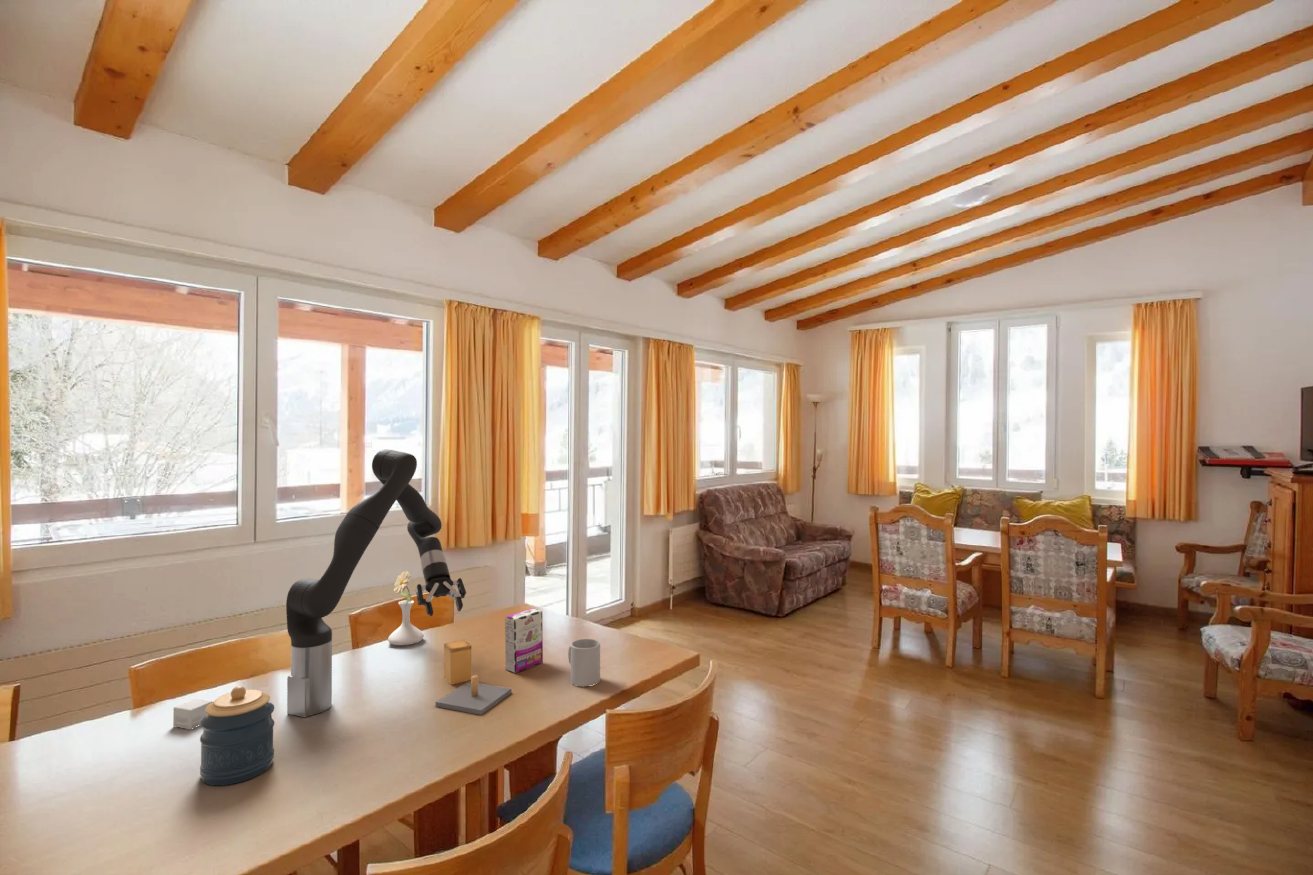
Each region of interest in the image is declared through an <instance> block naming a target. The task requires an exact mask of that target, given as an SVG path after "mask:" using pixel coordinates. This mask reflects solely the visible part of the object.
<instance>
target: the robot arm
mask: <svg viewBox="0 0 1313 875" xmlns="http://www.w3.org/2000/svg"><path fill="white" fill-rule="evenodd" d="M417 461H418V460H417V458H416V456H415V455H413V454H411V453H407V452H404V451H398V450H394V449H381V450H379V451H377V452H376V453H375V455H374V457H373V458H372V462H371V468H372V472H373V475H374V477H375V478H376V479H377V480H378V481H379V482H380V483H381V484H382V486H381V487H380V488H379V489H378V490H377V491H375V492H374V493H373V494H371V495H370V496H367V497H366V498H364V499H363V500H362V501H360V502H358V503H357V504H355V505H354V506H352V507H351V509H350V510H349V511H348V512H347V513H346V515H345V516H344V518H343V519H342V520H341V523H339V526H338V528H337V529H336V531H335V535H334V542H333V556H332V558H331V561H330V563H329V565H328V566H327V568H326V570H325V572H324V573H323V575H322V576H321V578H319V579H317V578H301V579H298V580H297V581H295V582H294V583H293V584H292V585H291V586H290V588H289V590H288V593H287V596H286V603H285V604H286V607H285V608H286V629H287V633H288V637H290V674H289V675H288V676H287V679H286V680H287V682H286V683H287V684H286V686H287V687H286V689H287V690H286V691H287V692H286V694H287V695H286V696H287V697H286V698H287V699H286V700H287V702H286V706H287V708H286V709H287V710H286V713H287V714H288V715H291V716H292V715H293V716H297V717H302V718H307V717H309V716H312V715H317V714H321V713H323V712H325V711H327V710H329V709H330V708H331V707H332V705H333V704H332V699H333V698H332V696H333V689H332V688H333V684H332V683H333V630H332V628H331V627H330V626H329V624H327V623H326V622H325V621H324V620H323V618H325V617H328V616H329V615H331V613H332V612H333V611H334V610H335V609H336V607H337V605H338V604H339V602H340V601H341V599H342V596H343V594H344V593H345V590H346V588H347V586H348V583H349V581H350V579H351V577H352V575H353V573H354V571H355V569H356V567H357V565H358V564H359V562H360V561H361V559H362V557H363V555H364V553H365V551H366V549H367V548H368V546H369V545H370V544H371V543H372V541H373V539H374V537H375V536H376V534H377V532H378V530H379V529H380V527H381V525H382V523H383V522H384V520H385V518H386V517H387V515H388V513H389V512H390V510H391V509H392V507H393V505H394V504H395V502H397V503H398V505H399V506H400V508H401V510H402V512H403V513H404V515H405V518H406V519H407V521H408V523H407V525H406V526H407V528H406V530H407V532H408V534H409V536H410V538H411V539H412V540H413V542H414V543H415V545H416V548H417V550H418V554H419V558H420V564H421V572H422V574H423V579H424V583H425V585H421V584H420V583H418V584H417V585H416V589H415V594H416V601H417V605H418V606H424V607H425V611H426V614H427V615H429V617H433V615H434V610H433V604H432V602H431V601H432V600H433V598H434V597H435V598H439V597H447V596H448V597H449V598H452V599H454V600H455V606H456V608H457V609H456V610H457V612H461V611H462V609H463V607H464V602H463V600H462V599H465V596H466V594H467V590H466V588H465V585H464V582H463V579H462V578H460V577H458V579H457V580H452V578H451V575H450V574H451V573H450V571H449V567H448V562H447V558H446V557H445V554H444V551H443V548H442V544H441V541H440V539H439V538H438V537H435V536H433V535H435V534H438V533H439V532H440V531H441V529H442V521H441V518H440V517H439V515H437V514H436V513H435V512H434V511H433V510H432V509H431V508H430V507H429V506H428V505H427V503H426V501H425V500H424V497H423V496H422V495H421V493H420V492H419V491H418V490H417V489H416V488H414V487H413V486H412V485H411V484H410V482H411V481H412V479H413V477H414V475H415V473H416V470H417V468H418V462H417ZM453 586H454V587H453ZM457 590H458V591H457ZM424 591H426V592H427V593H428V595H427V597H426V598H424V594H423V593H424Z"/></svg>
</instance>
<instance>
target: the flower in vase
mask: <svg viewBox="0 0 1313 875" xmlns="http://www.w3.org/2000/svg"><path fill="white" fill-rule="evenodd" d="M410 580H411V574H410V572H409V571H408V570H406V571H405V570H404V571H403V572H401V573H400V575H399V574H398V576H397V578H396V581H395V583H394V584H393V586H394V588H393V592H394V593H395V595H396V594H398V595H399V594H401V596H402V597H403V598H404V599H405V600H401V601H398V605H399V606H400V609H401V613H402V622H401V624H400V626H399V627H397V628H396V629H394V631H393V632H392V633H390V635H389V636H388V638H387V642H388V643H389V644H391V645H396V646H408V645H412V644H413V645H414V644H416V643H419V642H420V641H422V640H423V639H424V638H425V635H424V633H423V631H422V630H420V629H419V628H418V627H416V626H415V625H414V624H412V623H411V620H410V619H411V616H410V615H411V609H412V606H413V604H414V603H415V601H414V600H413V599H412V593H410V589H409V587H408V585H410ZM405 589H407V592H405ZM407 593H408V594H407Z"/></svg>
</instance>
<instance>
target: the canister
mask: <svg viewBox="0 0 1313 875" xmlns="http://www.w3.org/2000/svg"><path fill="white" fill-rule="evenodd" d="M270 699H271V696H270V695H269V694H268V693H266V692H264V691H261V690H259V689H246V688H245V686H243V685H237V686H235V687H233V688H232V690H231V691H230V692H228V693H225V694H222V695H221V696H217V697H216V698H215V700H213V701H212V703H210V704H209V705H208V706H207V707H206V709H205V712H206V713H207V714H206V715H205V716H204V717H203V718H202V719H201V721H200V725H201V726H200V727H201V728H202V729H203V730H202V734H200V736H199V742H200V766H199V775H200V776H201V781H202V783H204V784H206V785H209V786H215V785H216V786H218V785H220V786H228V784H230V785H234V784H233V783H235V784H238V782H239V783H243V782H245V781H247V780H250V779H253V778H255V777H258V776H259V775H261V774H263V773H264V772H265V771H267V770H268V769H269V768H270V767H271V765H272V764H273V761H274V757H275V748H274V726H275V720H274V719H273V718H272V714H273V712H274V711H275V705H274V704H273V703H272V702H270ZM218 787H219V786H218Z"/></svg>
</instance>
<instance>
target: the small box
mask: <svg viewBox="0 0 1313 875" xmlns="http://www.w3.org/2000/svg"><path fill="white" fill-rule="evenodd" d="M212 702H213V701H211V700H206V699H205V700H204V699H199V698H194V699H191V700H188V701H185V702H184V703H181V704H179V705H176V706H174V707H173V723H172V724H173V725H172V727H173V726H176V727H175V728H177V727H181V728H180V729H182V728H186V729H185V730H188V729H192V728H194V727H196V726H198V725H200V721H201V719H202V718H203V717H204V716H205V715H206V714H207V713H206V712H205V709H206V707H207V706H208V705H209V704H210V703H212ZM196 728H197V727H196ZM194 729H195V728H194ZM192 730H193V729H192Z"/></svg>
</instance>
